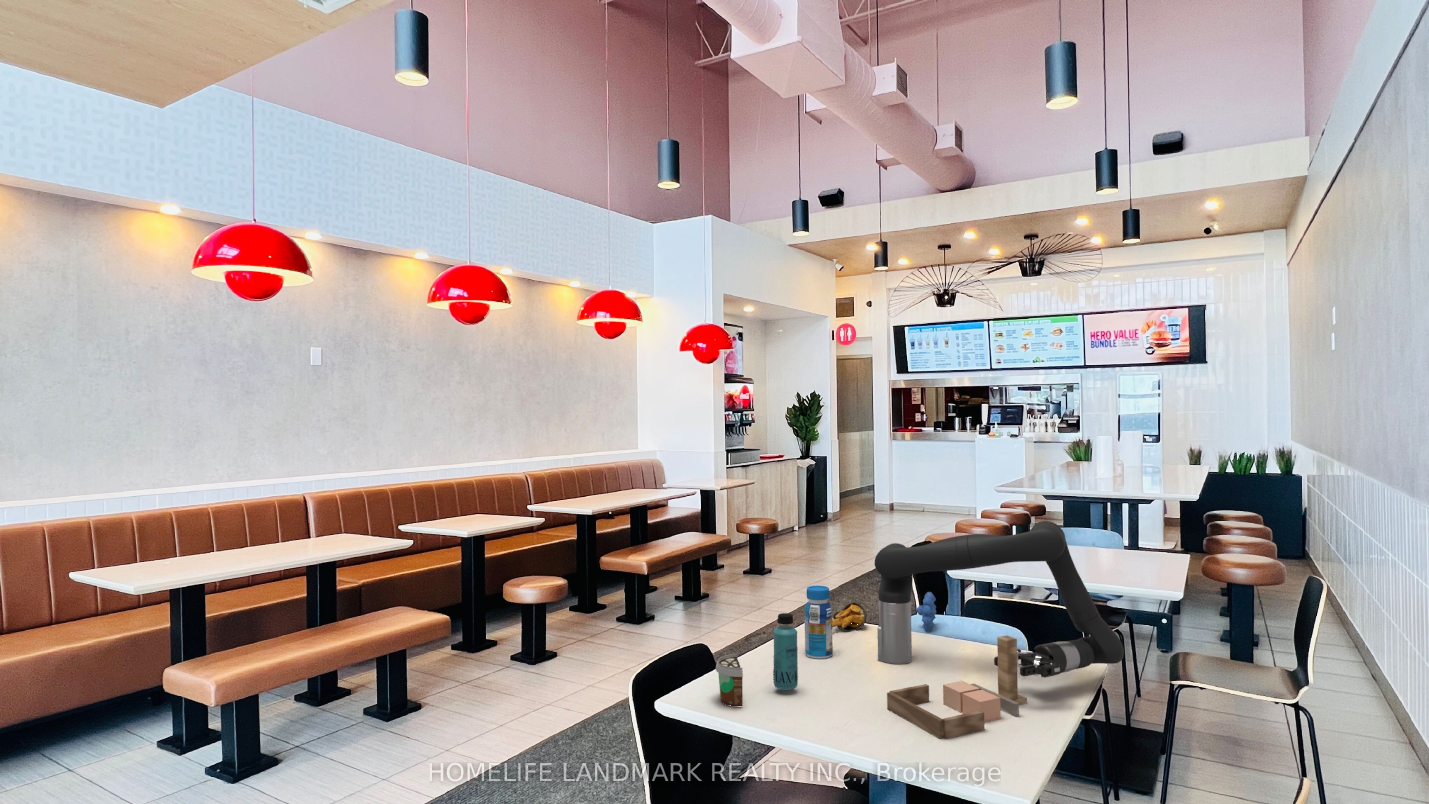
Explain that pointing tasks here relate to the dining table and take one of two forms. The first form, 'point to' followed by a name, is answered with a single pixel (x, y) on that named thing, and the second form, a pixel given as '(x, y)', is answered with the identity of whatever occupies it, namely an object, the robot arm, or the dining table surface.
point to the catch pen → (946, 728)
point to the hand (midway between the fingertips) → (1007, 666)
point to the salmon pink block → (982, 704)
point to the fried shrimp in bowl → (850, 617)
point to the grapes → (927, 611)
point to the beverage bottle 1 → (785, 654)
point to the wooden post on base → (1007, 676)
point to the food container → (730, 680)
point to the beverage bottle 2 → (818, 623)
